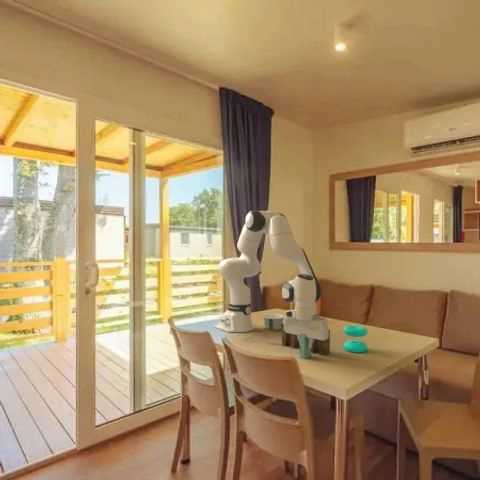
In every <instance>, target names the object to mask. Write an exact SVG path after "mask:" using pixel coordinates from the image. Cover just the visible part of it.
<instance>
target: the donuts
mask: <svg viewBox="0 0 480 480" xmlns="http://www.w3.org/2000/svg"><path fill="white" fill-rule="evenodd" d="M343 332H344V334H345V335H346V336H349V337H353V338H363V337H365V336H366V335H368V332H369V331H368V329H367V328H366V327H365V326H362V325H354V324H351V325H347V326H344V328H343ZM343 348H344V349H345V350H346V351H348V352H350V353H359V354H360V353H365V352H366V351H368V348H369V347H368V344H366V343H365V342H364V341H361V340H357V339H353V340H352V339H350V340H347V341H345V342H344V344H343Z"/></svg>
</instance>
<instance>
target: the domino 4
mask: <svg viewBox="0 0 480 480" xmlns="http://www.w3.org/2000/svg"><path fill="white" fill-rule="evenodd" d="M317 352H320V348H319V340H317V339H314V341H313V343H312V348H311V354H315V353H317Z"/></svg>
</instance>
